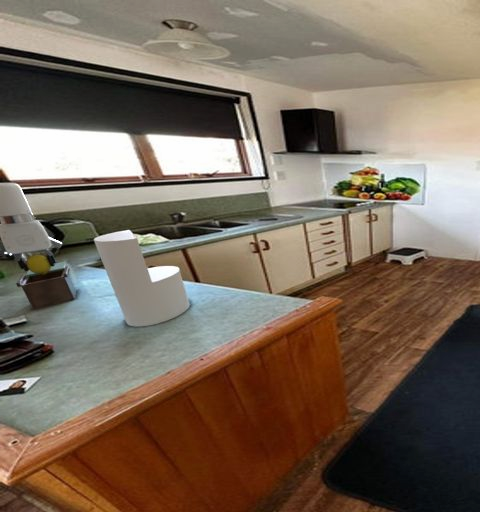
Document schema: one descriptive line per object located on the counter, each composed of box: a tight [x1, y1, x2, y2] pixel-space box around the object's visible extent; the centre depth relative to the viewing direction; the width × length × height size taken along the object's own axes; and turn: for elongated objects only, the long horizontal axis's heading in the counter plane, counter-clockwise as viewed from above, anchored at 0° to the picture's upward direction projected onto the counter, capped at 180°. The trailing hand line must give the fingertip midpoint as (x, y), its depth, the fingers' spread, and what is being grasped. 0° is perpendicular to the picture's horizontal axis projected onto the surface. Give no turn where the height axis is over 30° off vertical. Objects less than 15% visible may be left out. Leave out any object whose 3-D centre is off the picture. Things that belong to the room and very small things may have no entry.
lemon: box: [25, 253, 51, 275], centre depth 100 cm, size 6×6×8 cm
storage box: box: [15, 265, 77, 311], centre depth 103 cm, size 12×12×11 cm
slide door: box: [25, 261, 68, 277], centre depth 107 cm, size 10×11×5 cm
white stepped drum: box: [93, 229, 191, 327], centre depth 89 cm, size 17×17×28 cm
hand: (40, 267), depth 100 cm, fingers closed on lemon, 5 cm apart
